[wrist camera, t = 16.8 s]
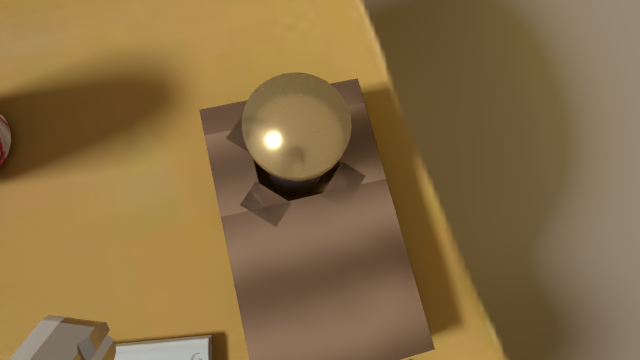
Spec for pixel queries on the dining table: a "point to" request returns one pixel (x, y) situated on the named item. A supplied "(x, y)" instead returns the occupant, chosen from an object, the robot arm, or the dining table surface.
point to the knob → (296, 129)
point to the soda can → (4, 139)
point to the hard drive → (167, 349)
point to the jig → (317, 251)
